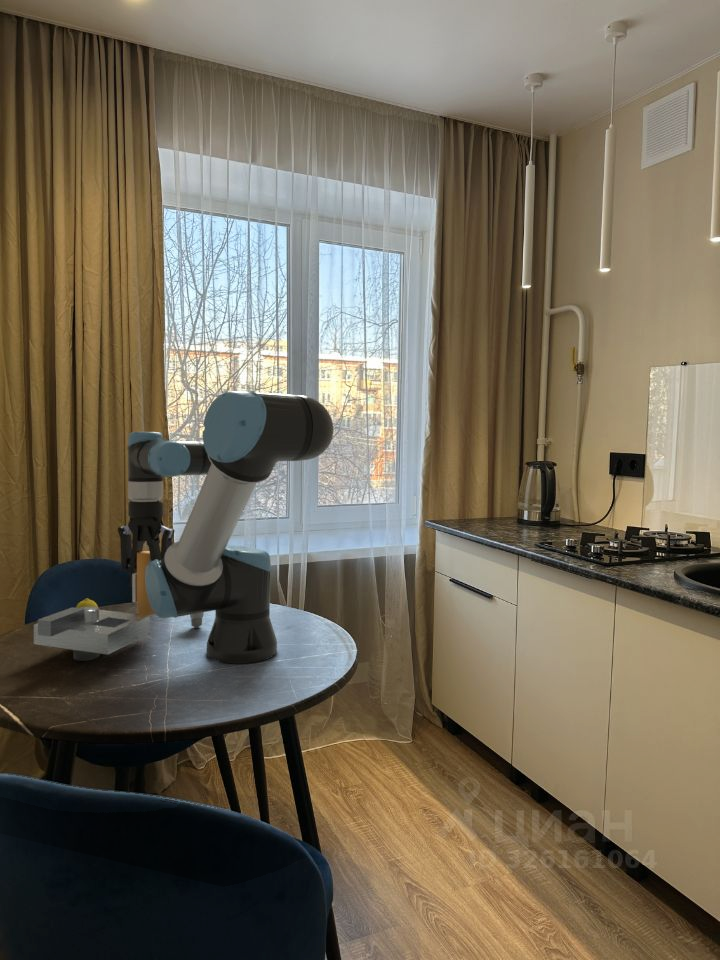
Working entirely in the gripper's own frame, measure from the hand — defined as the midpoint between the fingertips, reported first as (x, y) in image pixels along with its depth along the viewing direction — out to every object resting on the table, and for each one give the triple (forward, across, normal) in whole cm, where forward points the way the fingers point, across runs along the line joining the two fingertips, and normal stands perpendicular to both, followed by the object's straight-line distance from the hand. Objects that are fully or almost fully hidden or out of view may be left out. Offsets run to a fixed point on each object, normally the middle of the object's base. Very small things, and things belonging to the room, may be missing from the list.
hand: (146, 601), depth 150 cm
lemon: (+9, +16, 0) cm, 18 cm away
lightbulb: (+9, -6, -12) cm, 16 cm away
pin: (+3, 0, 0) cm, 3 cm away
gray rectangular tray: (+9, +3, +17) cm, 19 cm away
